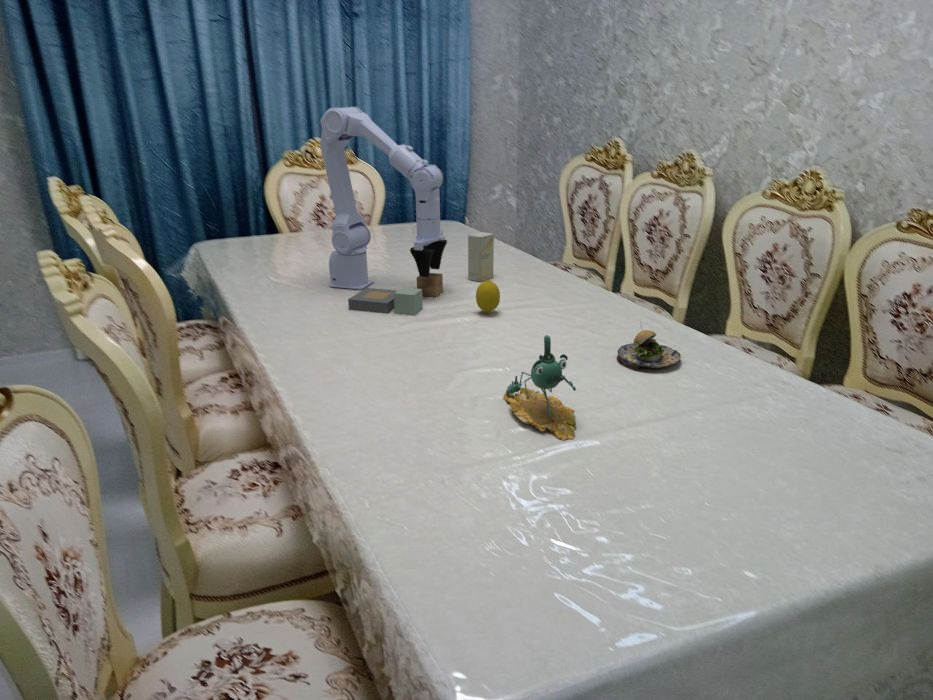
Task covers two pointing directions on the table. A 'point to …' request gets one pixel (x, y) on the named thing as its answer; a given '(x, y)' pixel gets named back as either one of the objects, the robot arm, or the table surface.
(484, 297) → the lemon
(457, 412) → the table surface
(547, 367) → the green creature figurine
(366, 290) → the charcoal block
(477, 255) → the skincare box
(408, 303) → the sage cube
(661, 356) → the burger
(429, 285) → the walnut cube
